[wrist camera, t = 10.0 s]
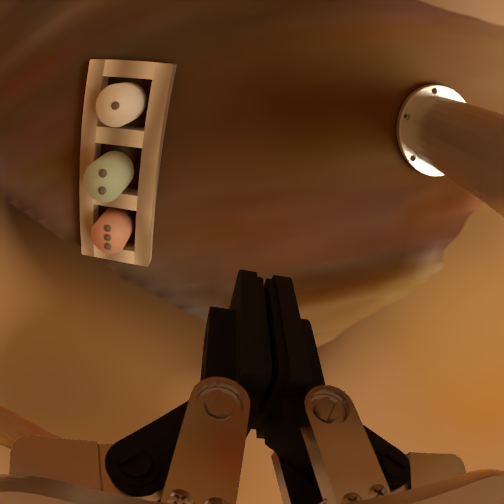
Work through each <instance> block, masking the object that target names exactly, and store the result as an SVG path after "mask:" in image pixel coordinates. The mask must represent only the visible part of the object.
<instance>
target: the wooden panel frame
mask: <svg viewBox="0 0 504 504" xmlns="http://www.w3.org/2000/svg"><path fill="white" fill-rule="evenodd" d="M176 67H177V64H168V63H158V62H146V61H131V60H107V59H90V62H89V69H88V75H87V82H86V90H85V99H84V108H83V119H82V131H81V148H80V181H79V198H80V232H81V248H82V254H83V255H88V256H93V257H98V258H103V259H109V260H114V261H119V262H125V263H130V264H135V265H141V266H146V267H148V266H149V264H150V261H151V257H152V242H153V229H154V217H155V207H156V197H157V187H158V179H159V170H160V163H161V155H162V148H163V141H164V134H165V128H166V121H167V115H168V109H169V104H170V98H171V92H172V87H173V82H174V77H175V72H176ZM109 77H127V78H140V79H151V80H152V85H151V90H150V96H149V102H148V109H147V115H146V122H145V128H142V127H134V126H124V125H123V126H121V127H110V126H107V125H105V124H104V123H102V122H101V120H100V119H99V118H98V116H97V113H96V101H97V98H98V96H99V94H100V92H101V91H102V90H103V89H104V88H106V87H107V86H108V80H109ZM101 143H102V144H111V145H120V146H128V147H136V148H142V154H141V163H140V173H139V184H138V190H137V189H131V188H125V189H124V190H123V192H122V193H121V194H120V195H119V196H118V197H117V198H116V199H115V200H113V201H111V202H99V201H97V200H95V199H93V198H92V197H91V196H90V195H89V194H88V192H87V191H86V189H85V186H84V173H85V171H86V169H87V167H88V166H89V165H90V164H91V163H93V162H94V161H96V160H97V159H98V158H100V155H101ZM99 205H102V206H108V207H115V208H121V209H127V210H133V211H136V228H135V244H134V243H128V242H127V243H126V244H125V246H124V248H123V249H122V250H121V251H120V252H118V253H115V254H108V253H105V252H102V251H101V250H99V249H98V248H97V247H96V246H95V245H94V243H93V241H92V239H91V229H92V227H93V225H94V224H95V222H96V221H97V220H98V219H99Z"/></svg>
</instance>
